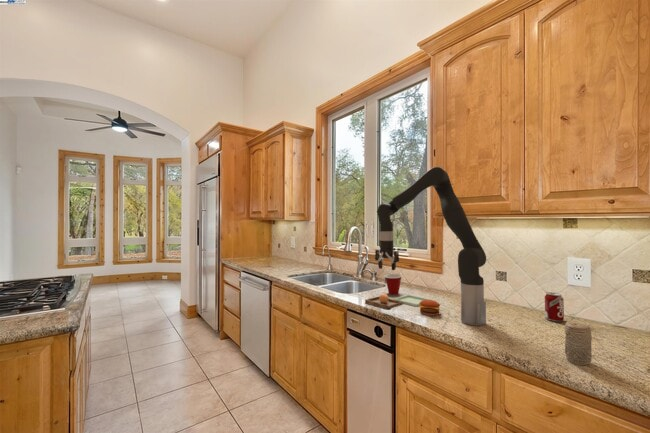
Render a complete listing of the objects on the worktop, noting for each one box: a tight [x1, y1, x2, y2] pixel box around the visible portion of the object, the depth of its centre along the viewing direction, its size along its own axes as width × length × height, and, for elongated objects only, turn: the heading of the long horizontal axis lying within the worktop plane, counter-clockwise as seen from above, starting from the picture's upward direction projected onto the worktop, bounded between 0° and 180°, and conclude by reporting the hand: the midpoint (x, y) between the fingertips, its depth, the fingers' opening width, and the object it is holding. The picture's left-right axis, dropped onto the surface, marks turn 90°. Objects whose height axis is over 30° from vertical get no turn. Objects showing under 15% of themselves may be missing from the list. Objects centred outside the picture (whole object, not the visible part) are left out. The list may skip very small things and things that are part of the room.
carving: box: [564, 321, 593, 366], centre depth 92 cm, size 6×8×12 cm
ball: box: [379, 293, 389, 303], centre depth 159 cm, size 5×5×5 cm
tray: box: [364, 295, 403, 310], centre depth 159 cm, size 16×12×2 cm
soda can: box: [544, 291, 565, 323], centre depth 132 cm, size 7×7×12 cm
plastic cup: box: [383, 273, 403, 296], centre depth 181 cm, size 11×11×12 cm
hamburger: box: [419, 299, 441, 317], centre depth 142 cm, size 9×10×7 cm
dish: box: [392, 294, 433, 308], centre depth 162 cm, size 15×15×2 cm
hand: (386, 269), depth 159 cm, fingers open, 8 cm apart
